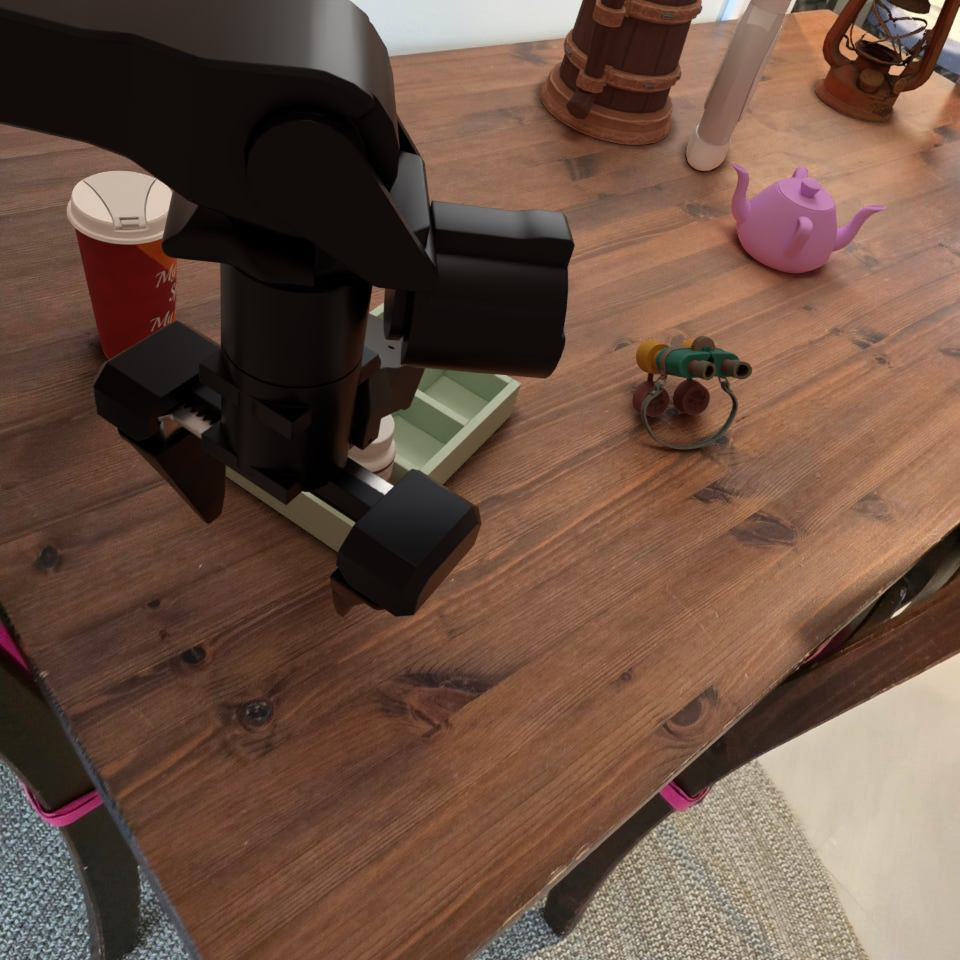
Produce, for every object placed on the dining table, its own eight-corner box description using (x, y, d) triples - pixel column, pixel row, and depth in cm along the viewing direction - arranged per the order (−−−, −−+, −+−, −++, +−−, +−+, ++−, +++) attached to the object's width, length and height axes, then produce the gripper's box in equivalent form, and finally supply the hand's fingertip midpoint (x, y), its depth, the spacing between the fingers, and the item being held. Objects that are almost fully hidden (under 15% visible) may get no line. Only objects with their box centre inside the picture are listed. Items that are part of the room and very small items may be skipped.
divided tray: (207, 463, 66) (206, 428, 63) (377, 335, 80) (383, 301, 77) (360, 568, 63) (366, 535, 60) (511, 415, 76) (521, 383, 74)
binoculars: (705, 434, 83) (717, 327, 80) (765, 460, 75) (780, 342, 72) (616, 439, 80) (625, 328, 78) (668, 466, 72) (680, 343, 69)
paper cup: (196, 373, 72) (190, 225, 62) (94, 384, 69) (69, 230, 59) (179, 312, 76) (171, 164, 66) (82, 319, 73) (58, 165, 63)
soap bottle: (731, 190, 112) (825, -13, 94) (674, 167, 113) (757, -39, 95) (749, 150, 121) (838, -43, 103) (696, 129, 122) (776, -66, 104)
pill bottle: (313, 481, 66) (321, 400, 60) (374, 472, 68) (388, 393, 62) (329, 531, 63) (339, 452, 57) (393, 520, 65) (409, 442, 59)
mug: (501, 113, 113) (541, -58, 98) (573, 63, 128) (617, -93, 113) (630, 173, 110) (691, 5, 95) (688, 114, 125) (749, -39, 110)
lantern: (799, 97, 137) (907, -126, 115) (806, 69, 146) (908, -144, 124) (904, 136, 136) (1034, -82, 114) (905, 105, 144) (1026, -103, 122)
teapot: (848, 271, 105) (889, 206, 98) (765, 288, 99) (803, 220, 92) (783, 214, 111) (818, 149, 104) (701, 227, 105) (732, 158, 98)
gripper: (577, 357, 39) (499, 562, 51) (252, 173, 43) (247, 401, 55) (439, 502, 32) (384, 703, 43) (65, 265, 36) (104, 505, 48)
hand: (278, 562), depth 48 cm, fingers open, 9 cm apart
